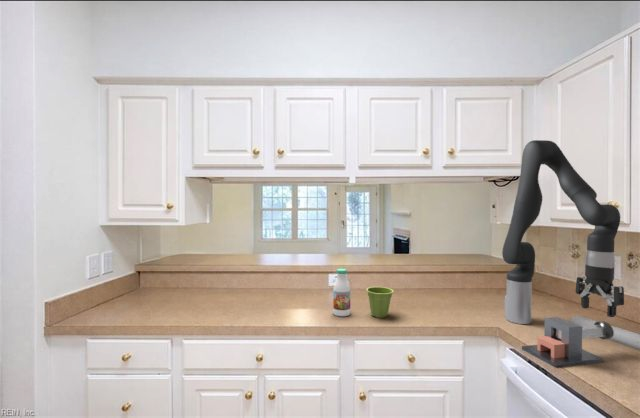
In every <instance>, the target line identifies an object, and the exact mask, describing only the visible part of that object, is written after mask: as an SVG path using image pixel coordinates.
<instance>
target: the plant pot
mask: <svg viewBox="0 0 640 418" xmlns="http://www.w3.org/2000/svg"><path fill="white" fill-rule="evenodd" d="M366 292H367V296H368V301H369V302H368V303H369V309H370V314H371V316H373V317H375V318H386V317H388V316H389V310H390V305H391V299H392V297H393V296H392V295H393V293H394V290H393V289H392V288H389V287H385V286H370V287H367V288H366Z"/></svg>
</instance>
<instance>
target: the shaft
mask: <svg viewBox="0 0 640 418" xmlns="http://www.w3.org/2000/svg"><path fill="white" fill-rule="evenodd" d="M611 326H612V325H610V323H609V322H607V321H601V320H600V321H598V322H596V323H595V324H594V325H584V326H582V340H583V339H594V338H599V339H601V340H609V339H610V338H612V337H613V335H614V331H613V328H612V327H611ZM561 334H562V331H561V330H558V329H556V337H557V338H559V339H561Z"/></svg>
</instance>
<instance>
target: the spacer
mask: <svg viewBox="0 0 640 418" xmlns="http://www.w3.org/2000/svg"><path fill="white" fill-rule="evenodd" d="M536 343H537V344H536V345H537V350H539V351H548V350H551V357H553V358H562V357H565V344H564V343H562V342H559V341H557V340H555V339H553V338H551V337H548V336H545V337H544V336H538V337H537V342H536Z"/></svg>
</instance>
